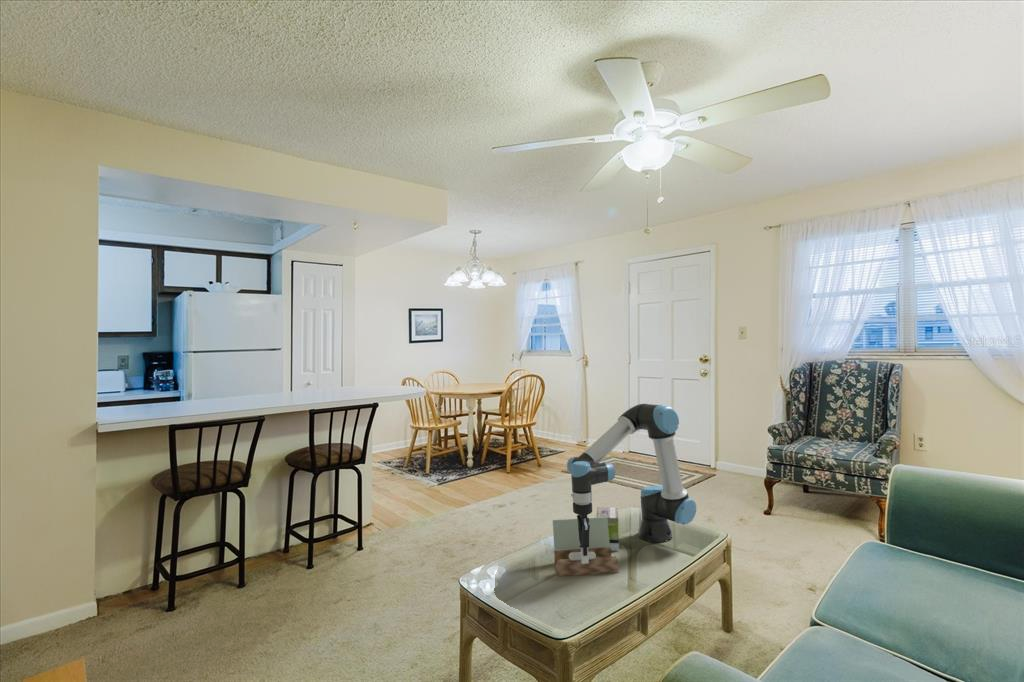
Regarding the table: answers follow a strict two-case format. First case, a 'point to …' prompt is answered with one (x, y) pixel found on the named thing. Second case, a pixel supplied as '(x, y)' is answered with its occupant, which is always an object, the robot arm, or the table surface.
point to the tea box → (611, 525)
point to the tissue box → (595, 566)
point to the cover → (569, 534)
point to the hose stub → (577, 555)
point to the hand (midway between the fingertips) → (584, 562)
